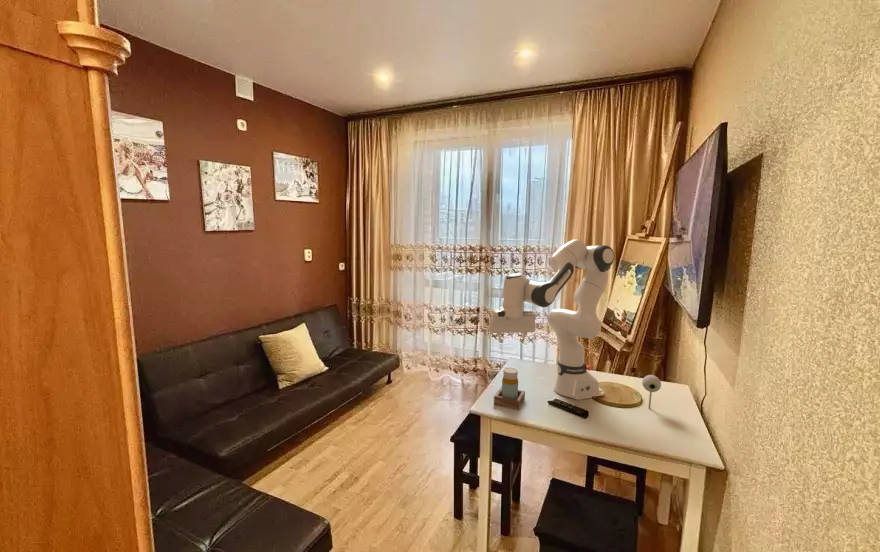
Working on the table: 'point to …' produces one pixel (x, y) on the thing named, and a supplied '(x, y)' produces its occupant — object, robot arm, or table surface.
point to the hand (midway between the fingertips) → (511, 342)
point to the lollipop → (651, 385)
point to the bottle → (510, 383)
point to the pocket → (509, 400)
